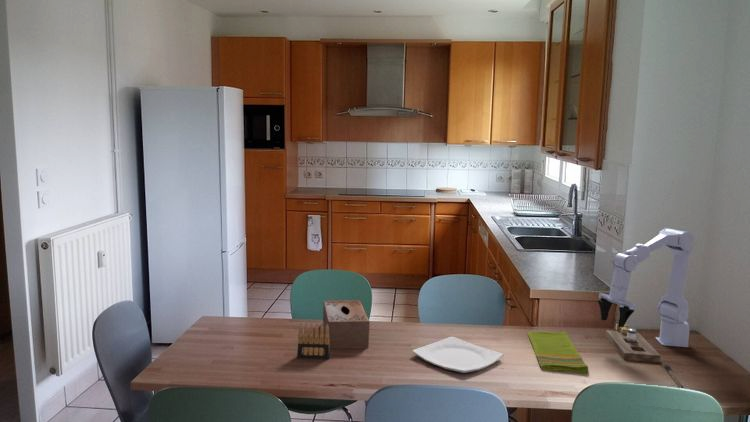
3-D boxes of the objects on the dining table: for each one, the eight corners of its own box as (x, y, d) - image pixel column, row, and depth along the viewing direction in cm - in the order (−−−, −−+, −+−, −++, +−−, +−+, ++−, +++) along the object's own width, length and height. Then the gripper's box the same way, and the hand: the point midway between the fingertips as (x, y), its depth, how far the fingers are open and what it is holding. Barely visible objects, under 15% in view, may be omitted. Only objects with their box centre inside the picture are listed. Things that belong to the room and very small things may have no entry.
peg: (633, 346, 214) (635, 328, 213) (635, 349, 211) (637, 331, 210) (624, 345, 215) (626, 327, 214) (627, 348, 212) (629, 330, 211)
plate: (450, 341, 214) (451, 334, 213) (507, 361, 196) (508, 354, 196) (406, 357, 196) (406, 350, 196) (464, 381, 179) (465, 372, 179)
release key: (626, 330, 225) (626, 324, 225) (630, 334, 220) (630, 329, 220) (615, 329, 225) (616, 323, 225) (619, 333, 220) (620, 328, 220)
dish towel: (541, 371, 189) (541, 362, 189) (526, 335, 224) (527, 327, 224) (589, 375, 187) (590, 366, 187) (567, 338, 222) (567, 330, 222)
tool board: (637, 338, 223) (638, 332, 223) (659, 362, 199) (660, 355, 199) (605, 336, 225) (606, 330, 224) (623, 359, 201) (624, 352, 201)
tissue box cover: (322, 325, 226) (323, 300, 225) (359, 324, 229) (360, 300, 227) (327, 349, 201) (328, 321, 200) (368, 348, 203) (369, 321, 202)
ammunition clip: (329, 357, 193) (330, 322, 192) (329, 359, 192) (330, 324, 190) (297, 356, 193) (298, 321, 192) (296, 358, 191) (297, 323, 190)
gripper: (595, 281, 211) (588, 316, 212) (628, 291, 198) (621, 329, 199) (609, 282, 214) (602, 317, 215) (642, 292, 201) (634, 330, 202)
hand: (612, 323), depth 207 cm, fingers open, 7 cm apart
